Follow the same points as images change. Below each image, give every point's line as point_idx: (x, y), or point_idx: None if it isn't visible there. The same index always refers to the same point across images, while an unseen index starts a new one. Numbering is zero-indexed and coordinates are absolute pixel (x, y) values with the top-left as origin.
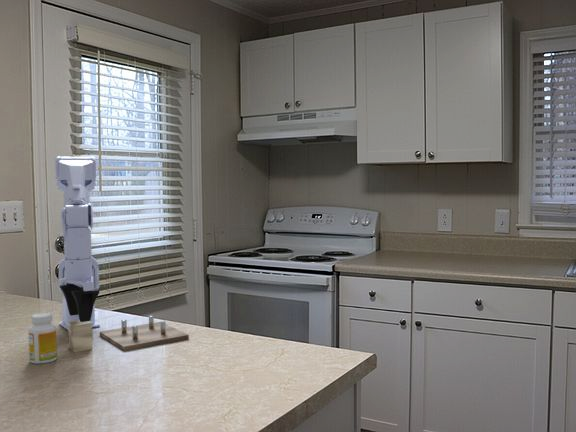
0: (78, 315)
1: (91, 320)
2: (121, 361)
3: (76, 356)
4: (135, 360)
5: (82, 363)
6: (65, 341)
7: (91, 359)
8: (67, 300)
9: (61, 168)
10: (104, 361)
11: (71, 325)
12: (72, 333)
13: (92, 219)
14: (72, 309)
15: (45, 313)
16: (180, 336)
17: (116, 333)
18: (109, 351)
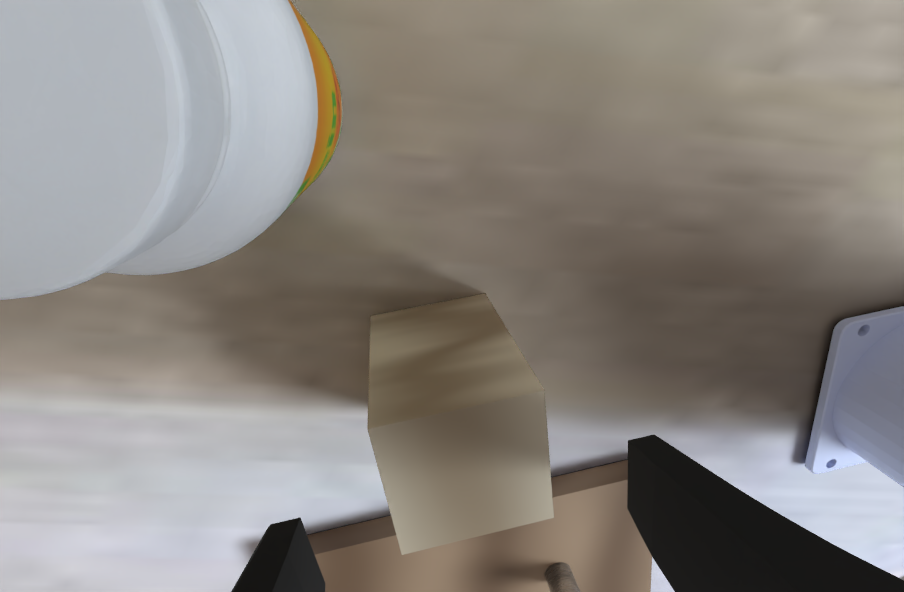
0: (275, 573)
1: (864, 456)
2: (57, 528)
3: (260, 320)
4: (59, 583)
5: (72, 343)
6: (645, 283)
7: (154, 395)
8: (776, 576)
9: None
10: (84, 455)
11: (441, 403)
12: (409, 370)
13: None
14: (667, 505)
15: (111, 173)
16: None
17: (559, 542)
18: (296, 485)
